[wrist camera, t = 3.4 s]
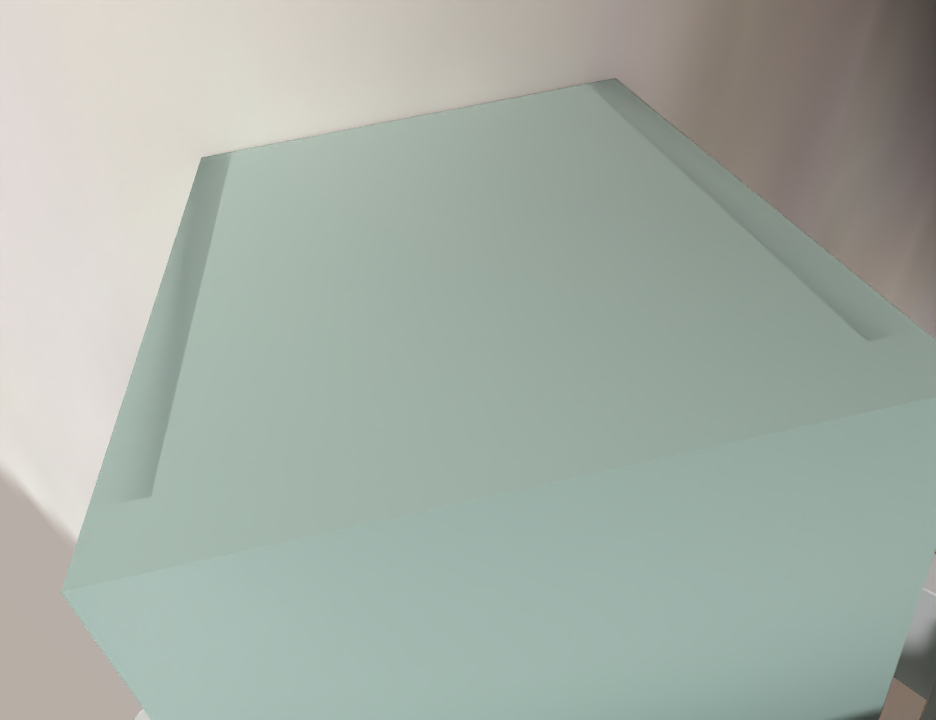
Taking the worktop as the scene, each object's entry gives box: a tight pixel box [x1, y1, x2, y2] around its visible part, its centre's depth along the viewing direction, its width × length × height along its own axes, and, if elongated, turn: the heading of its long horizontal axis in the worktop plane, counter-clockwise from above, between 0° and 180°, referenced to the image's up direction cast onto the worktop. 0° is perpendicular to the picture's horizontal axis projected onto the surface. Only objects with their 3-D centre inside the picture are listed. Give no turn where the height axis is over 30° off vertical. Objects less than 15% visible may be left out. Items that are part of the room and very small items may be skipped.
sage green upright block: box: [61, 78, 936, 720], centre depth 12 cm, size 11×7×9 cm, turn 8°
